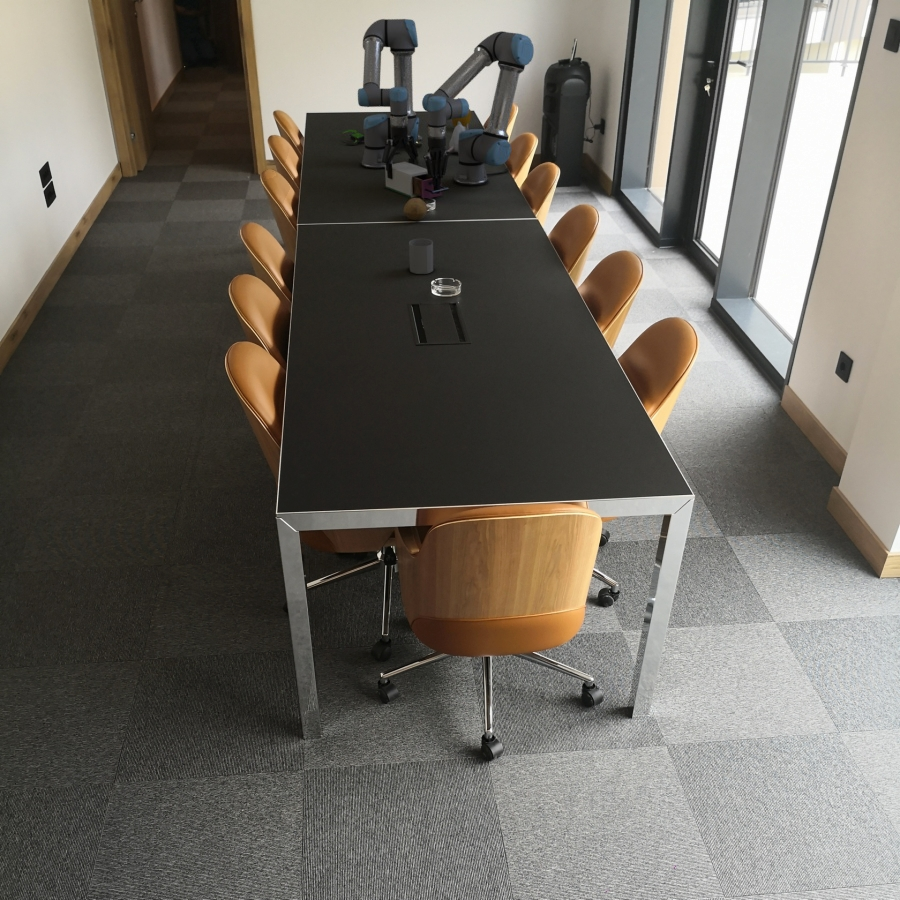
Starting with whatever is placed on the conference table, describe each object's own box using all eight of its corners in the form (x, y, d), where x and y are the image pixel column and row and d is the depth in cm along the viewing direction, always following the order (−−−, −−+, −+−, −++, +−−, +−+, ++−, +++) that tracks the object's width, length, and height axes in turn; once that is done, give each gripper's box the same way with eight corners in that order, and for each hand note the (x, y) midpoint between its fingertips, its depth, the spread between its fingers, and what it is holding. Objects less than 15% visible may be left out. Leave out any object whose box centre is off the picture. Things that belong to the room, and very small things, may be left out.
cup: (409, 265, 311) (408, 238, 306) (432, 265, 312) (431, 238, 307) (410, 274, 304) (409, 246, 299) (433, 273, 305) (433, 246, 299)
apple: (471, 132, 486) (471, 108, 479) (451, 132, 486) (451, 108, 479) (470, 128, 495) (471, 104, 488) (452, 128, 495) (452, 104, 488)
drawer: (449, 198, 378) (449, 180, 374) (431, 202, 373) (431, 184, 368) (417, 186, 393) (417, 168, 389) (399, 190, 388) (399, 172, 383)
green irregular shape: (396, 126, 467) (340, 124, 465) (396, 141, 460) (339, 139, 458) (396, 136, 472) (341, 134, 470) (396, 151, 465) (340, 149, 463)
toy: (474, 152, 449) (475, 122, 441) (443, 160, 434) (443, 129, 426) (462, 149, 454) (462, 119, 446) (430, 157, 439) (430, 126, 431)
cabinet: (430, 193, 388) (430, 170, 383) (410, 197, 382) (410, 174, 377) (405, 183, 400) (405, 161, 395) (385, 188, 394) (385, 165, 389)
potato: (426, 213, 362) (426, 194, 358) (428, 224, 351) (428, 204, 346) (403, 213, 362) (402, 194, 358) (404, 224, 350) (403, 205, 346)
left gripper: (382, 130, 371) (384, 182, 383) (425, 123, 384) (426, 173, 396) (372, 127, 376) (374, 178, 388) (415, 120, 389) (416, 169, 401)
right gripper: (430, 140, 357) (430, 197, 370) (454, 135, 364) (453, 192, 377) (418, 137, 362) (419, 193, 375) (443, 132, 369) (443, 188, 382)
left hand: (400, 176), depth 392 cm, fingers closed on cabinet, 11 cm apart
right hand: (436, 192), depth 376 cm, fingers closed
